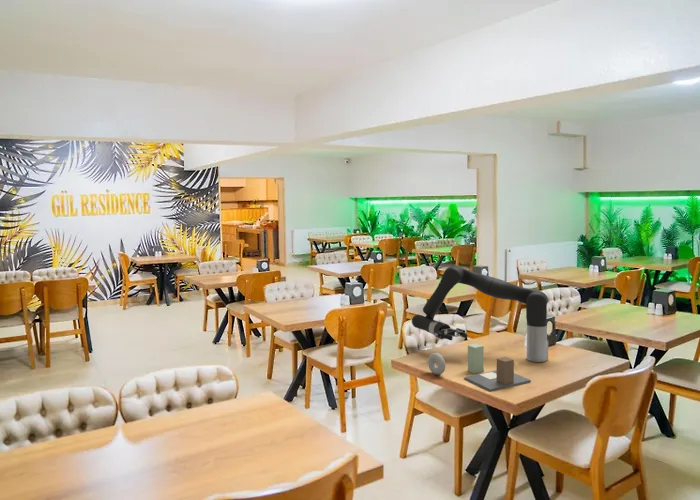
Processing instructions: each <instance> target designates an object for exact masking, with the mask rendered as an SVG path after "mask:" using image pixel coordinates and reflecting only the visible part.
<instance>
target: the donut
mask: <svg viewBox="0 0 700 500" xmlns="http://www.w3.org/2000/svg"><path fill="white" fill-rule="evenodd" d="M436 362H437V365H436ZM427 366H428V369H429V370H430V372H431V373H432V374H433V375H435V374H436V375H437V376H440V375H443V373H444V372H445V370H446V360H445V359H444V357H443V355H441V353H439V352H432V353H431V354H430V355H429V356H428V359H427Z"/></svg>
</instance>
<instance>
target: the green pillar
mask: <svg viewBox="0 0 700 500" xmlns="http://www.w3.org/2000/svg"><path fill="white" fill-rule="evenodd" d="M484 349H485V347H484V345H481V344H480V343H472V344H467V371H468V372H470V373H472V374H473V375H476V374H481V373H485V371H484V369H485V368H484V367H485V366H484V364H485V363H484V360H485V359H484V357H485V356H484V354H485V353H484Z"/></svg>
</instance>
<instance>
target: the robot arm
mask: <svg viewBox="0 0 700 500" xmlns="http://www.w3.org/2000/svg"><path fill="white" fill-rule="evenodd" d="M457 284H463V285H467V286H470V287H473V288H474V289H475V290H477V291H479V292H481V293H482V294H485V295H487V296H489V297H493V298H496V299H501V300H509V301H510V300H511V301H516V302H520V303H522V304H525V310H526V311H525V313H526V314H525V317H526V360H527V361H529V362H533V363H544V362H547V360H549V339H548V314H547V312H548V310H547V309H548V308H547V307H548V304H549V303H548V302H549V299H548V296H547V295H546V294H545V292H543V291H541V290H537V289H531V288H527V287H523V286H519V285H517V284H514V283H511V282H509V281H506V280H502V279H500V278H496V277H493V276H491V275H486V274H481V273H479V272H474V271H472V270H469V269H467V268H464V267H462V266H459V265H455V264H454V265H450V266H448V267H447V268H445V270H444V272H443V274H442V276H441V278H440V281H439V283H438V285H437V287H436V289H435V290H434V292H433V293H432V294H431V295H430V297H429V299H428V300H427V302H426V303H425V304H424V306H423V308H422V312H423V313H424V314H425V315H422V314H415V315H414V316H412V318H411V324H412V326H413V327H414V328H416V329H420V330H423V331H425V332H427V333H429V334H432V335H433V336H435V337H436V338H438V339H440V340H449V341H453V338H458V337H462V338H463V339H467V338H468V333H466V330H465V329H461V328H458V327H456V328H455V329H454V328H452V327H450V325H449V324H447V323H445V322H442V321H439V320H436V319H435V317H436V314H437V312H438V311H439V310H440V308H441V307H442V304H443V303H444V301H445V299H446V298H447V295H448V294H449V293H450V291H451V290H452V289H454V287H455V286H456V285H457Z"/></svg>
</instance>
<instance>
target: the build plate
mask: <svg viewBox="0 0 700 500" xmlns="http://www.w3.org/2000/svg"><path fill="white" fill-rule="evenodd" d="M463 378H464V379H463V380H465V381H468V382H470V383H472V384H474V385H476V386H477V387H480V388H482V389H484V390H486V391H488V392H494V391H499V390H503V389H508V388H511V387H517V386H521V385H525V384H530V383H531V382H532V381H531V379H530V378H527V377H524V376H521V375H519V374H517V373H515V360H514V358H510V357H508V356H502V357H498V358H496V370H490V371H486V372H481V373H476V374H472V375H468V376H463Z"/></svg>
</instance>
